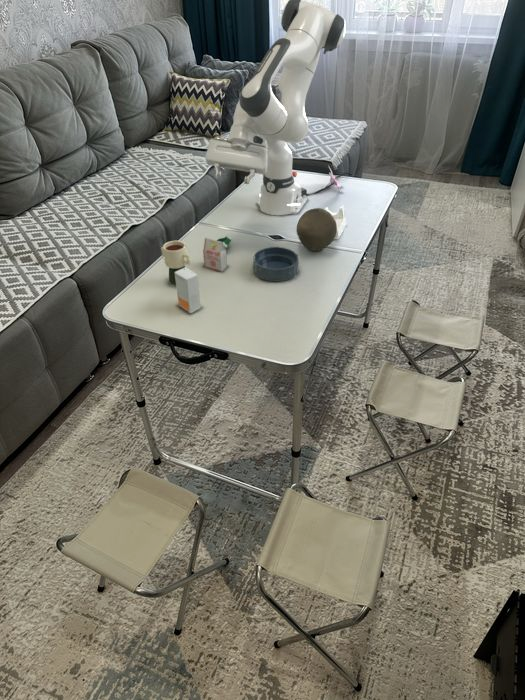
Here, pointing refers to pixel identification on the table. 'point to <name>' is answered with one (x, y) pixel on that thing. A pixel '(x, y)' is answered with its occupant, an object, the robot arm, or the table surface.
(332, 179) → the lily
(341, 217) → the bracket
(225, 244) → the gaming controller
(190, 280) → the cosmetic box
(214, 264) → the white printed carton
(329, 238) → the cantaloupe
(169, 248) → the character mug
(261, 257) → the bowl
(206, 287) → the table surface
